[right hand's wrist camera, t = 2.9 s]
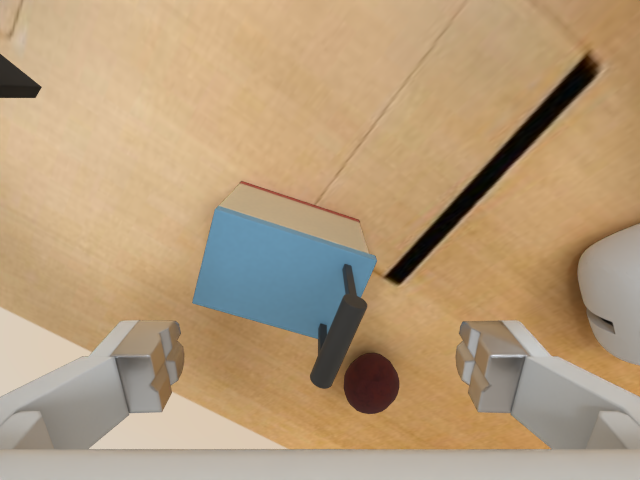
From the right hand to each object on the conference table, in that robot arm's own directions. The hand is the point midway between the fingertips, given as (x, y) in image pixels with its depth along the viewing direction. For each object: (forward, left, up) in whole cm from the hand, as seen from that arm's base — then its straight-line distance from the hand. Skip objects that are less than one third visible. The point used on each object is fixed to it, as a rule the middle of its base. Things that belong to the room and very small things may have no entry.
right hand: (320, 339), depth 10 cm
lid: (+2, +10, -22) cm, 25 cm away
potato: (-11, +27, -33) cm, 44 cm away
